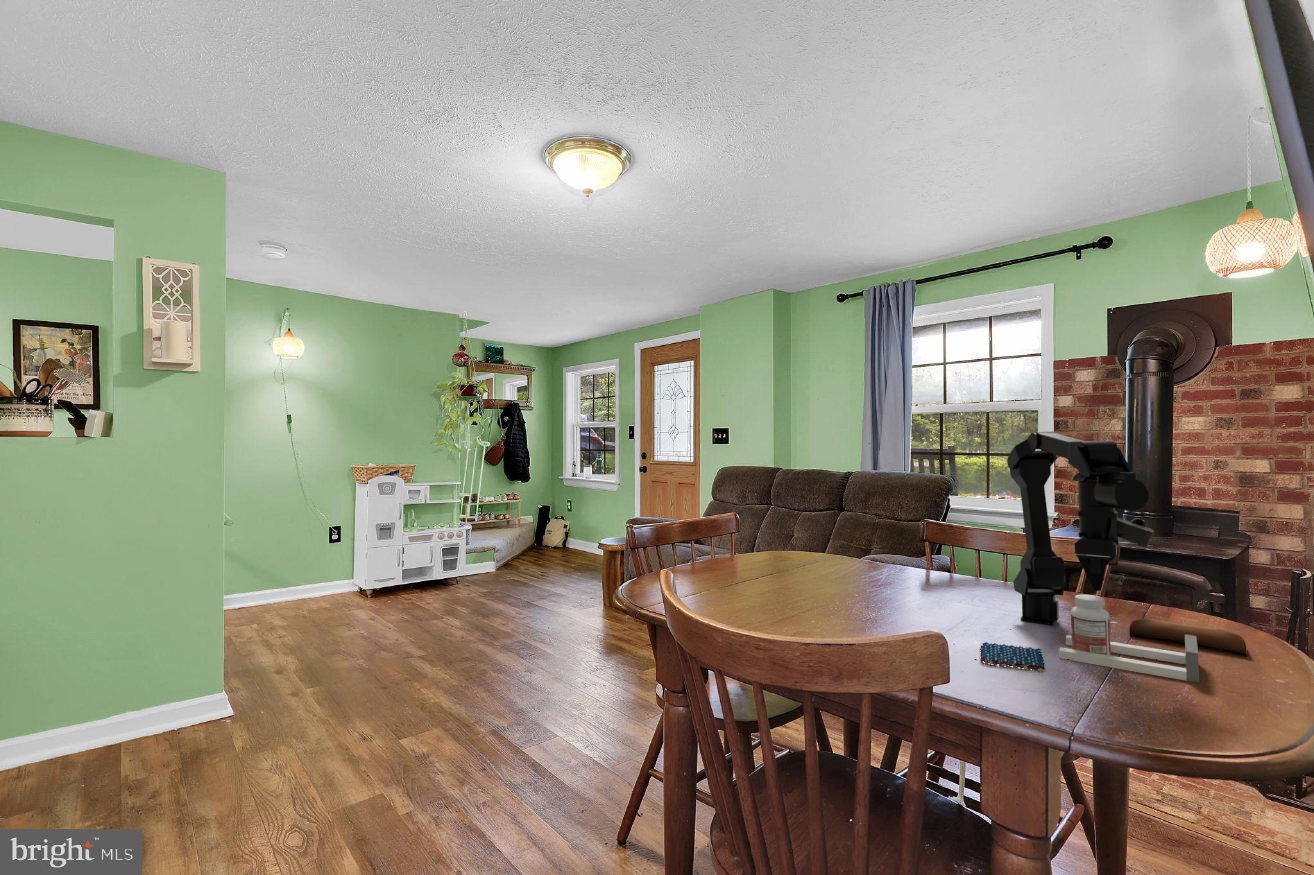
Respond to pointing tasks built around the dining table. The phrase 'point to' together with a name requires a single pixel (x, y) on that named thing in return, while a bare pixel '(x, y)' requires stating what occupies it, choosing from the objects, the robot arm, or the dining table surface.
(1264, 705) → the dining table surface
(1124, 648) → the guide track
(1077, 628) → the pill bottle
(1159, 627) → the sunglasses case
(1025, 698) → the dining table surface
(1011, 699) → the dining table surface
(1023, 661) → the woven mat
